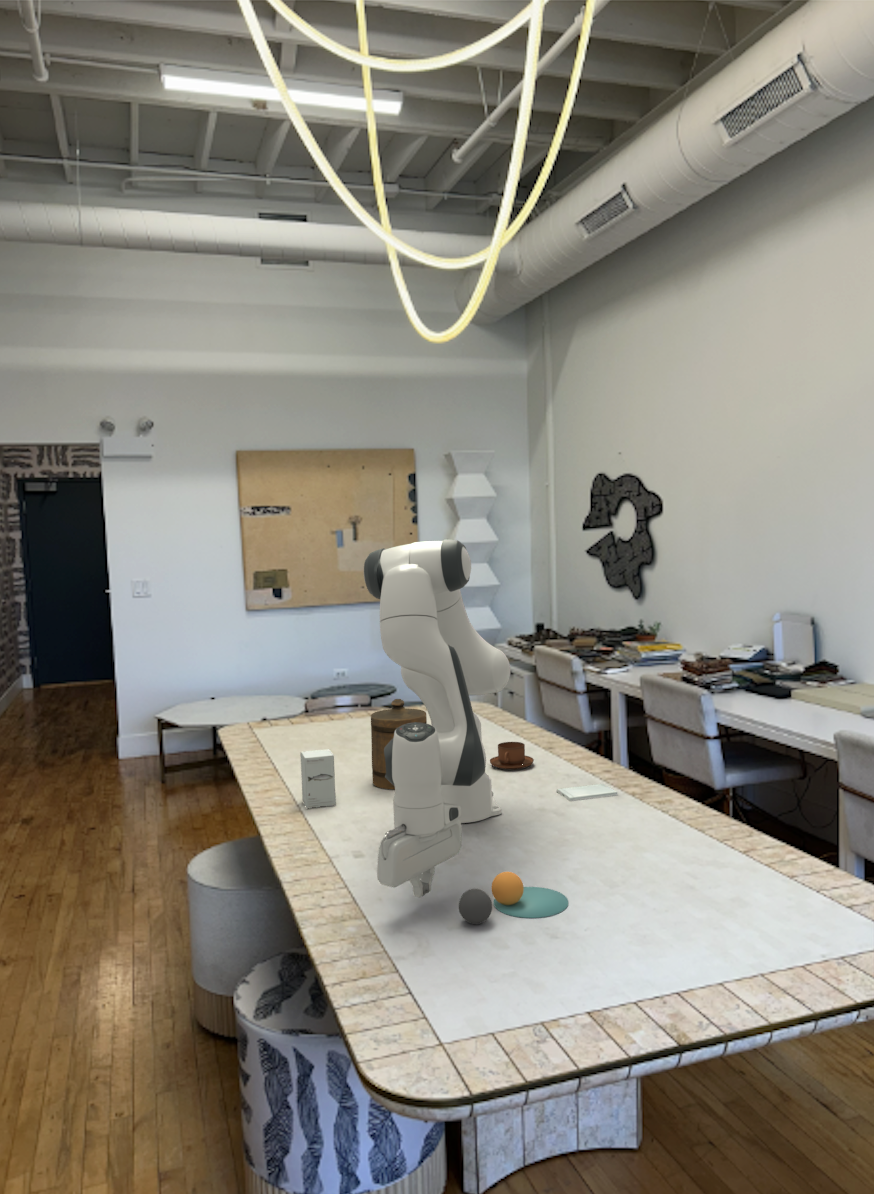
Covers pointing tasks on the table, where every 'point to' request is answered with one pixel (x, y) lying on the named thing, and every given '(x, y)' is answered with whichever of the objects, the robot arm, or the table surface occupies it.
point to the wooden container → (389, 736)
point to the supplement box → (318, 778)
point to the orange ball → (507, 888)
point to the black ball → (475, 906)
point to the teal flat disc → (535, 903)
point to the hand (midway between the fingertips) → (422, 894)
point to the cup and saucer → (511, 756)
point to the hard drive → (586, 792)
